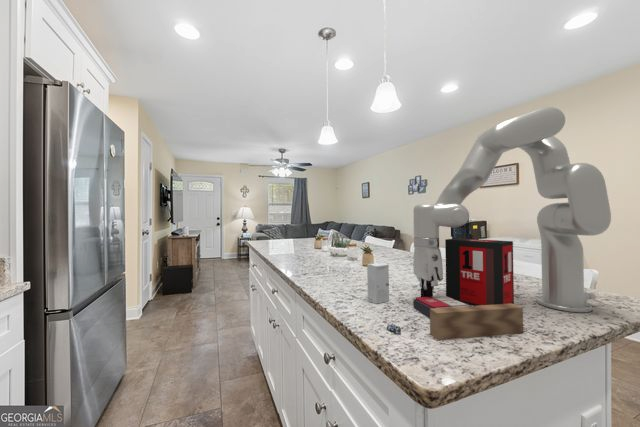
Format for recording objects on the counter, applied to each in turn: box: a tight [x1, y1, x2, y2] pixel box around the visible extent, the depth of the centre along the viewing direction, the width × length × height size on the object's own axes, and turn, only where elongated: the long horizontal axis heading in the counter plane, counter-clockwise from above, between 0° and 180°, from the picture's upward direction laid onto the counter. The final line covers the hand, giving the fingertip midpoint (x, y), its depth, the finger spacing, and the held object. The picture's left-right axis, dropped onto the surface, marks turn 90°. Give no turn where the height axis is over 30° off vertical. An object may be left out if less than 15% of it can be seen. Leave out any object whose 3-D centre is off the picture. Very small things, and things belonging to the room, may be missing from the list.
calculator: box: [413, 295, 468, 319], centre depth 74 cm, size 11×4×15 cm
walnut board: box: [429, 303, 524, 341], centre depth 62 cm, size 22×3×6 cm, turn 98°
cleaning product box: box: [445, 237, 515, 306], centre depth 84 cm, size 16×9×20 cm, turn 37°
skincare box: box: [366, 262, 390, 305], centre depth 87 cm, size 6×4×12 cm
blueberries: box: [385, 322, 408, 336], centre depth 64 cm, size 7×8×2 cm
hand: (426, 301), depth 83 cm, fingers closed
